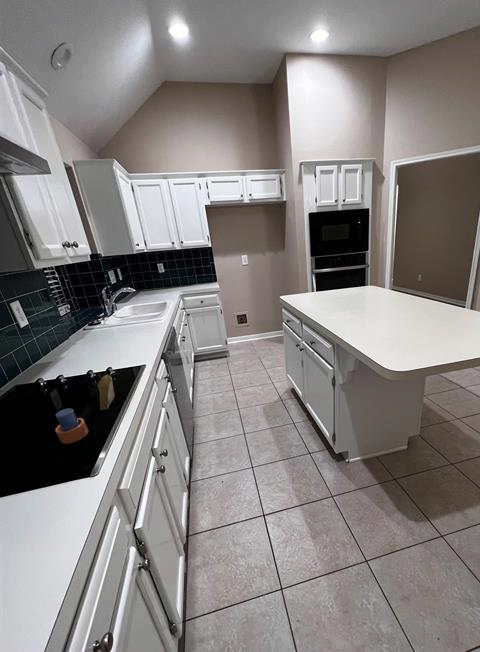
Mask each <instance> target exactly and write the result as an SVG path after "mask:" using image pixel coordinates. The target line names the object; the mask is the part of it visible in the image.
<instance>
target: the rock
mask: <svg viewBox="0 0 480 652" xmlns="http://www.w3.org/2000/svg"><path fill="white" fill-rule="evenodd" d="M97 388H98V391H99V410H100V411H106V410H108V409H109V407H110V405H111V404H112V403H113V401H114V398H115V397H116V396H115V389H114V385H113V377H112V376H111V375H109V374H105V375H103V376H102V377H101V378H100V380H99V381H98V383H97Z"/></svg>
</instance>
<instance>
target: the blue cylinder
mask: <svg viewBox="0 0 480 652" xmlns="http://www.w3.org/2000/svg"><path fill="white" fill-rule="evenodd" d="M55 418H56V420H57V422H58V425H60V426H61V428H62V430H63V431H68V430H71V429H74V428H76V427H77V426H79V425H80V424H79V422H78V420H77V418H78V417H77V415H76V413H75V411H74V409H73V408H70V407H69V408H68V407H67V408H64V409H61V410H59V411H58V412H56V414H55Z"/></svg>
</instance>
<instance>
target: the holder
mask: <svg viewBox="0 0 480 652" xmlns="http://www.w3.org/2000/svg"><path fill="white" fill-rule="evenodd" d="M76 418H77V420H78V422H79V424H80V425H79V426H77V427H76V428H74V429H71V430H68V431H63V430H62V428H61V426H60V424H58V425H57V427H56V428H55V433H56V435H57V437H58V439H59V441H60V442H61V444H65V445H67V444H68V445H69V444H74V443H77V442H78V441H81V440H82V439H84V438H86V436H88V434H89V428H88V425H87V424H86V421H85V419H84V418H82V417H76Z"/></svg>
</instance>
